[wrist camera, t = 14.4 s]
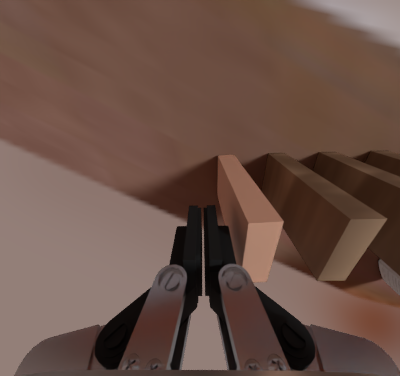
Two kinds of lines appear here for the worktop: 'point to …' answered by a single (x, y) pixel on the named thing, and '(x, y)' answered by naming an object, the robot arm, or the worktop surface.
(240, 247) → the end tile
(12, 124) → the worktop surface
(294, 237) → the domino
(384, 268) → the skincare box
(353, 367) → the robot arm
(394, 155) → the domino
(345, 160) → the domino
